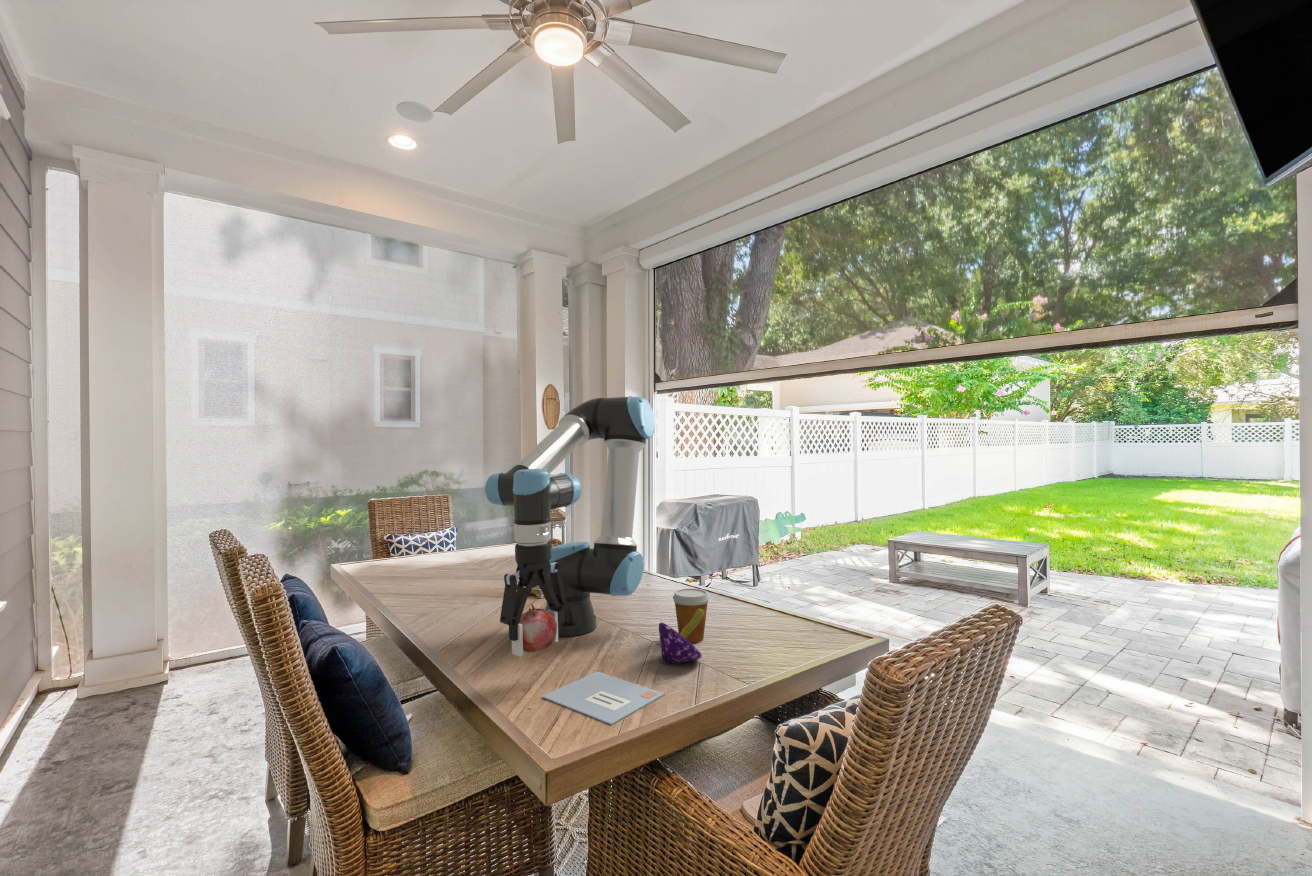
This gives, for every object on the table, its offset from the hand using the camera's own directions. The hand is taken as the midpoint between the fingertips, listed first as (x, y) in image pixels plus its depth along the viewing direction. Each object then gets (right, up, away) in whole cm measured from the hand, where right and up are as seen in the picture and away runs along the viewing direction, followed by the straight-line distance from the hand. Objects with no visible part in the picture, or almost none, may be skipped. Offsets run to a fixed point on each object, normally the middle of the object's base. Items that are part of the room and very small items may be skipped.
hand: (535, 647), depth 127 cm
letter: (+15, -8, -6) cm, 18 cm away
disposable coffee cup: (+35, -8, +28) cm, 45 cm away
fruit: (0, 0, 0) cm, 1 cm away
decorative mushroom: (+37, +4, +15) cm, 40 cm away
